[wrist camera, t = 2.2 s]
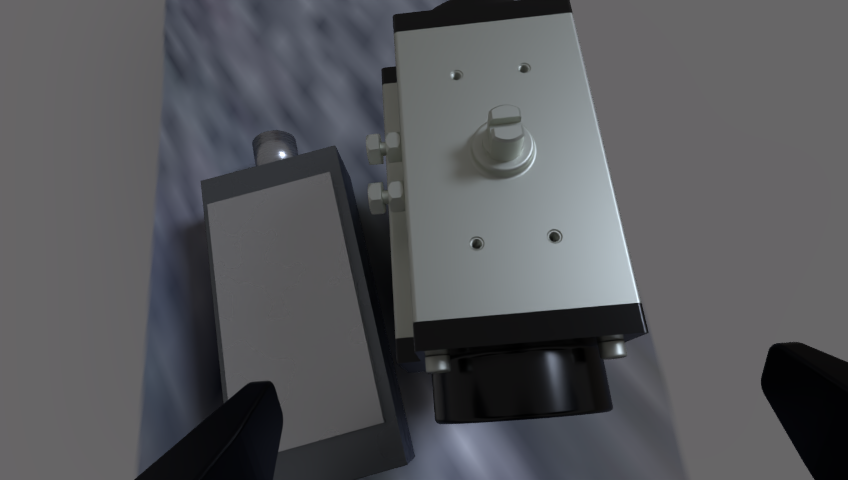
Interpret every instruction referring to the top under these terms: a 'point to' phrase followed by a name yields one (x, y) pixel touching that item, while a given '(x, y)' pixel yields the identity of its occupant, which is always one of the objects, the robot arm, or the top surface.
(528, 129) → the pneumatic valve
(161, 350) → the top surface
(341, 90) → the top surface
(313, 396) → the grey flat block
